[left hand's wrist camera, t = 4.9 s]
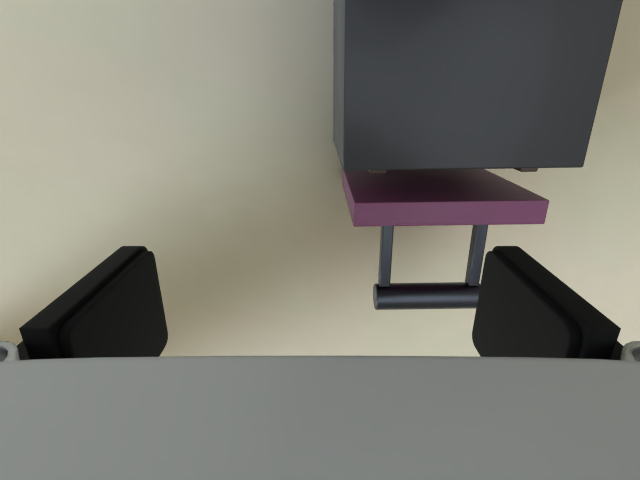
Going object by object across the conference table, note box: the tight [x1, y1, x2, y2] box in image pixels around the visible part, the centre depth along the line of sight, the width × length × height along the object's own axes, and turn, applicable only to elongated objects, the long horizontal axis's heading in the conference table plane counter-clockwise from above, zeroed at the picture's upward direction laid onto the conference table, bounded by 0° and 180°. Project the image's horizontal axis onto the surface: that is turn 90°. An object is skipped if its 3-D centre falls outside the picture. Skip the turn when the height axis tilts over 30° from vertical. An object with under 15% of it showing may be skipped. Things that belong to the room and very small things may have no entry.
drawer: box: [343, 168, 549, 310], centre depth 21 cm, size 20×9×9 cm, turn 1°
